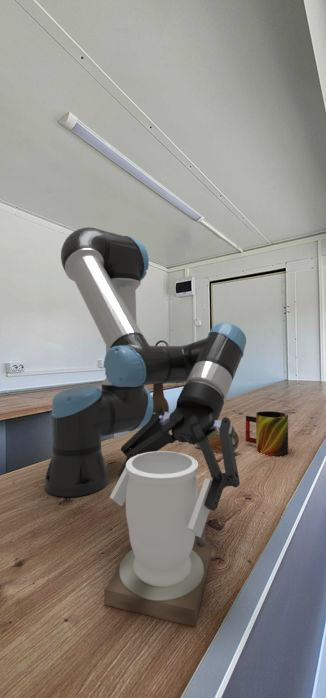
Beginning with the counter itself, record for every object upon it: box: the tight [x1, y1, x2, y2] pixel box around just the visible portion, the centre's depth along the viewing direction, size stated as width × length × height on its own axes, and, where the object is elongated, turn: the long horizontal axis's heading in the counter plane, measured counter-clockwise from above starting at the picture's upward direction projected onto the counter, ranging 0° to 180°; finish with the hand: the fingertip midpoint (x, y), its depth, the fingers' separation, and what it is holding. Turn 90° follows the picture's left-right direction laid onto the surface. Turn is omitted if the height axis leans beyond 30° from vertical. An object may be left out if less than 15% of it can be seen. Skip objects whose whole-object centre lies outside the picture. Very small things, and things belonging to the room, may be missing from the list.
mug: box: [245, 410, 289, 458], centre depth 103 cm, size 10×14×12 cm
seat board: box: [103, 525, 212, 628], centre depth 47 cm, size 12×14×5 cm
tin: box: [195, 429, 240, 455], centre depth 103 cm, size 15×3×8 cm, turn 56°
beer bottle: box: [149, 383, 170, 421], centre depth 114 cm, size 8×8×24 cm
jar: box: [125, 450, 199, 587], centre depth 46 cm, size 11×10×15 cm
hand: (151, 516), depth 44 cm, fingers open, 13 cm apart
